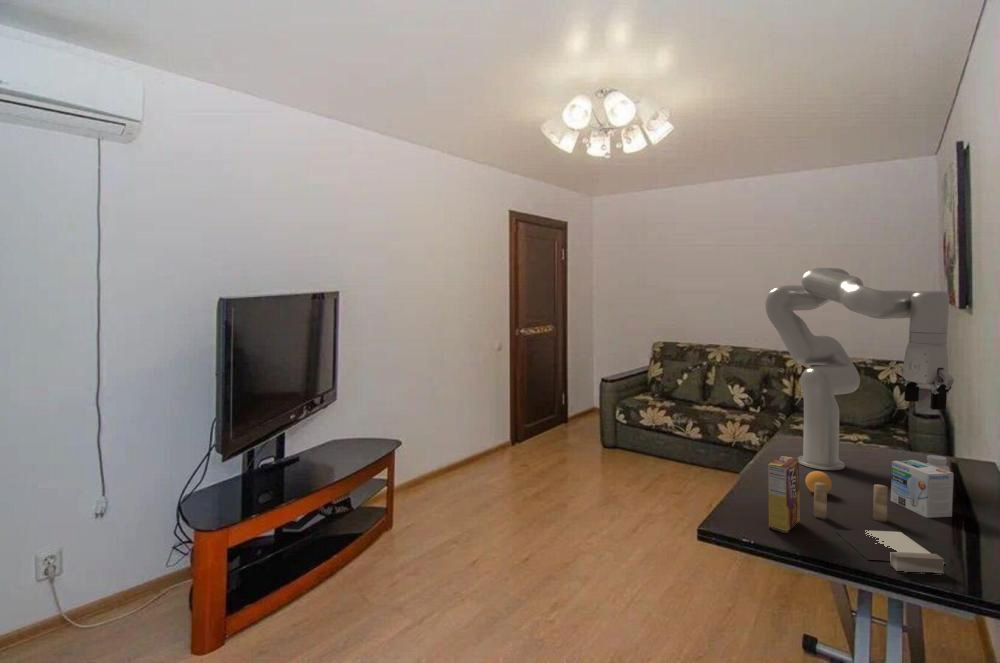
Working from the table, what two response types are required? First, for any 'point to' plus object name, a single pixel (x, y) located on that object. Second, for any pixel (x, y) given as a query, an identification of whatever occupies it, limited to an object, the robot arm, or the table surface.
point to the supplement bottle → (937, 462)
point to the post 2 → (880, 503)
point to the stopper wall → (916, 562)
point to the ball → (817, 480)
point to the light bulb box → (922, 488)
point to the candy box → (783, 493)
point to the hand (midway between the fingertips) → (924, 405)
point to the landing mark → (897, 541)
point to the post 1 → (820, 500)
